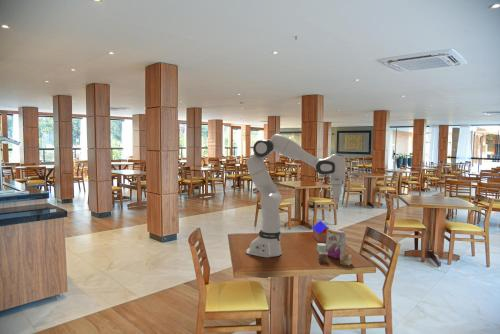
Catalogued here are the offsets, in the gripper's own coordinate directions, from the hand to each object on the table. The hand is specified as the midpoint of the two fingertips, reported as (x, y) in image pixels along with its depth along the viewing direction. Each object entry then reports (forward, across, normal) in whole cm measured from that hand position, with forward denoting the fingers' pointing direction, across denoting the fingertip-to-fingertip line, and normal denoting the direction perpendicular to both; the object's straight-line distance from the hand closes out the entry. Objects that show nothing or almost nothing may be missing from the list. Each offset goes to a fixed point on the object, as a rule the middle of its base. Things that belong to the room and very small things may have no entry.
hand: (337, 202), depth 211 cm
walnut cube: (+33, +13, -6) cm, 36 cm away
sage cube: (+33, -5, -9) cm, 35 cm away
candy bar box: (+33, +2, 0) cm, 33 cm away
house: (+34, -37, -12) cm, 51 cm away
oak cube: (+33, +13, +7) cm, 36 cm away
